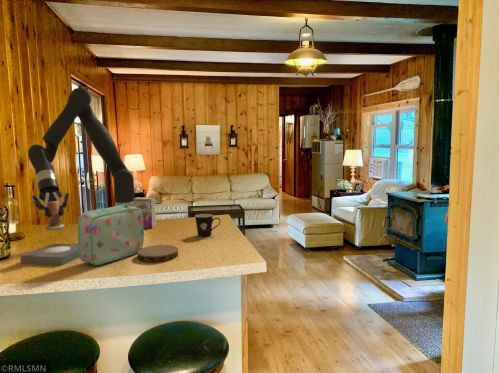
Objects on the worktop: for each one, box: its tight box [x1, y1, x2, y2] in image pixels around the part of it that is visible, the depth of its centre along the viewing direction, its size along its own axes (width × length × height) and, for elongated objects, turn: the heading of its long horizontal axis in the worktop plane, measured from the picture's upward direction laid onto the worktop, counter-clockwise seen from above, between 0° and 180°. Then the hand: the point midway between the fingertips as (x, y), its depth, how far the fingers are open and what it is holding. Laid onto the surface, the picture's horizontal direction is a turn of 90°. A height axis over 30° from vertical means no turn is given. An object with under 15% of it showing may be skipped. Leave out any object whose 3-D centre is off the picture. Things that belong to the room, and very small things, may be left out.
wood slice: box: [137, 244, 179, 264], centre depth 150 cm, size 16×16×3 cm
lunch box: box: [77, 204, 145, 266], centre depth 148 cm, size 27×10×21 cm, turn 149°
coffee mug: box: [194, 213, 221, 238], centre depth 183 cm, size 12×9×10 cm
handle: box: [45, 201, 65, 231], centre depth 149 cm, size 6×6×11 cm
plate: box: [20, 243, 80, 266], centre depth 151 cm, size 18×18×3 cm
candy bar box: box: [134, 196, 157, 229], centre depth 204 cm, size 11×5×16 cm, turn 77°
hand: (55, 215), depth 148 cm, fingers closed on handle, 4 cm apart
